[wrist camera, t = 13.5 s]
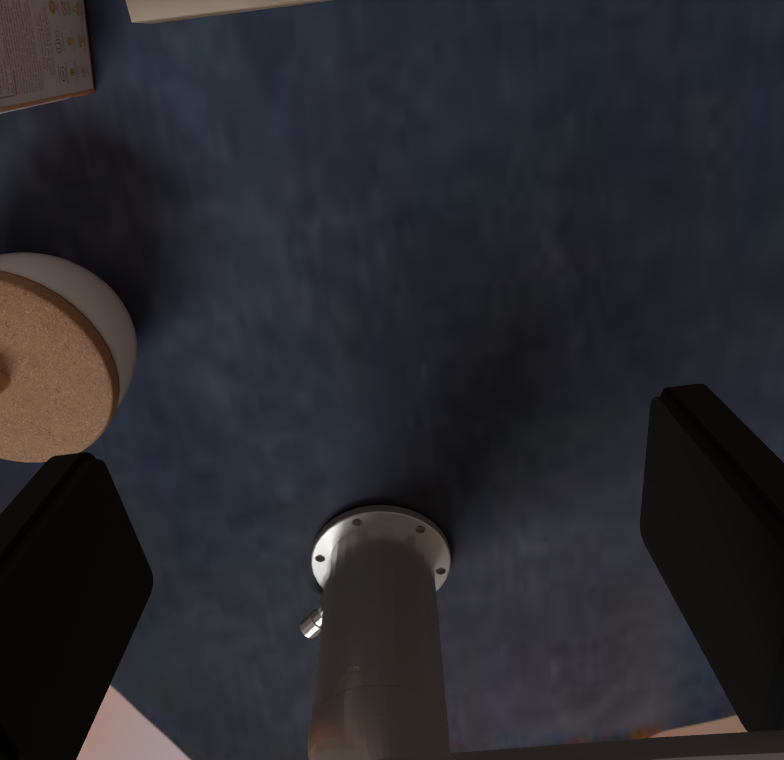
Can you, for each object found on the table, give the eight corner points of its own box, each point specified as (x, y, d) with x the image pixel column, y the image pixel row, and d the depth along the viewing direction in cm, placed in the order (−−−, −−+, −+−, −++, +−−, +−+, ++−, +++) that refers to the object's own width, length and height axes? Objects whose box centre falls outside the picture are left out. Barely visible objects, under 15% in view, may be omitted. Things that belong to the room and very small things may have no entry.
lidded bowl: (143, 412, 46) (80, 508, 37) (-27, 356, 44) (-143, 444, 34) (181, 270, 41) (117, 341, 31) (-13, 196, 38) (-147, 249, 29)
